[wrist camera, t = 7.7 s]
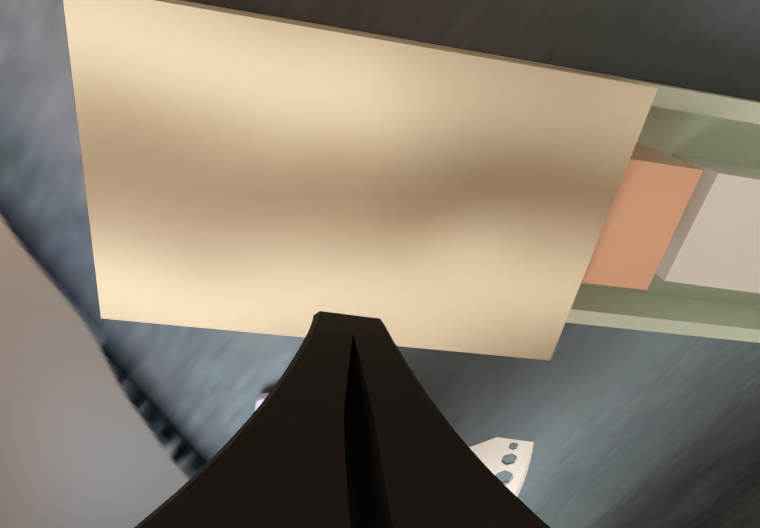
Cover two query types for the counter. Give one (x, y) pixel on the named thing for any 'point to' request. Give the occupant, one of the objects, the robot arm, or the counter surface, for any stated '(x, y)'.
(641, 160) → the terracotta tile
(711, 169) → the cream square block
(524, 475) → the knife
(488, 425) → the counter surface
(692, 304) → the box
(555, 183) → the wooden box
